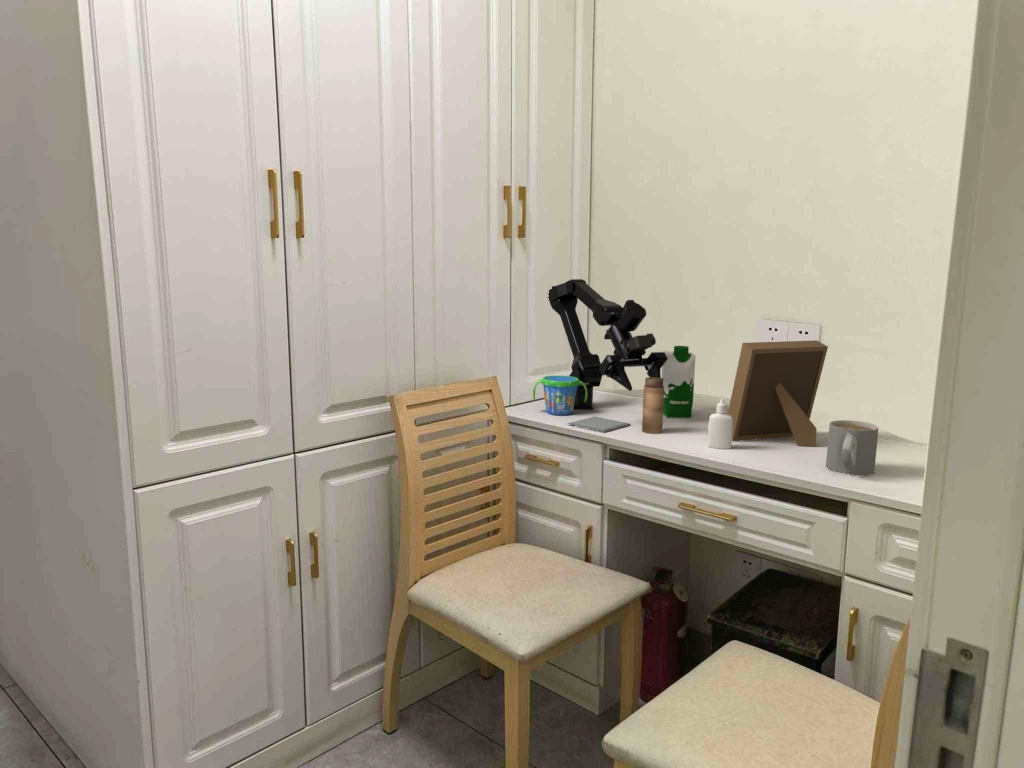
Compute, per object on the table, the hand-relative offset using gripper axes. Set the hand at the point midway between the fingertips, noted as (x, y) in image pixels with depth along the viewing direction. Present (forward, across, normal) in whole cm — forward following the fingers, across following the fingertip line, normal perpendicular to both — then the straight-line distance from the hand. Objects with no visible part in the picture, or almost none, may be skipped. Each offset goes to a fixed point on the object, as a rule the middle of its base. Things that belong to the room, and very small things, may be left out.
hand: (645, 388), depth 213 cm
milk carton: (0, +18, +15) cm, 24 cm away
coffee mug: (+44, +18, -28) cm, 55 cm away
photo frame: (+25, +23, -10) cm, 36 cm away
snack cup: (-10, -12, +25) cm, 30 cm away
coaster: (+2, -9, +13) cm, 16 cm away
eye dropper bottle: (+24, +6, -9) cm, 27 cm away
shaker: (+10, 0, +5) cm, 11 cm away
